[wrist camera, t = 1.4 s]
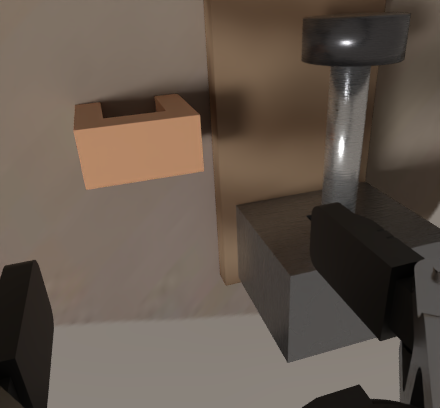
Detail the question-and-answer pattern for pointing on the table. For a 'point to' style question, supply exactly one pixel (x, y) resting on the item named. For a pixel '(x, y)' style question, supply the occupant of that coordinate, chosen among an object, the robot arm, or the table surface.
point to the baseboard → (268, 106)
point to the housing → (311, 268)
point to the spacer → (138, 143)
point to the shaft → (350, 86)
